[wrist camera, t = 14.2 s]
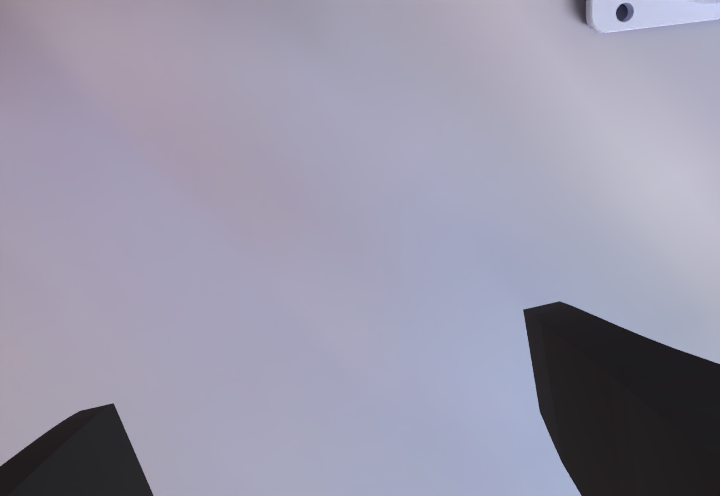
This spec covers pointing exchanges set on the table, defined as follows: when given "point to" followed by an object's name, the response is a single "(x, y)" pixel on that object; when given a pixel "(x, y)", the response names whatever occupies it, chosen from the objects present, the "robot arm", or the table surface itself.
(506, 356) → the table surface
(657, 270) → the table surface
